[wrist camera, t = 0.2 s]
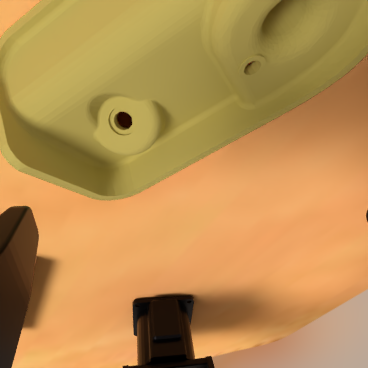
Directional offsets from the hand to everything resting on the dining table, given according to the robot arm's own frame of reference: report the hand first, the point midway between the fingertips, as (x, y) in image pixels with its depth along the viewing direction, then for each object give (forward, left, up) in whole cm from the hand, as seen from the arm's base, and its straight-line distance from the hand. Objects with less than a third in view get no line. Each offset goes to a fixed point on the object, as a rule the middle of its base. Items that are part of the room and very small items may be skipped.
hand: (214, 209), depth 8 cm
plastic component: (0, -1, -15) cm, 15 cm away
